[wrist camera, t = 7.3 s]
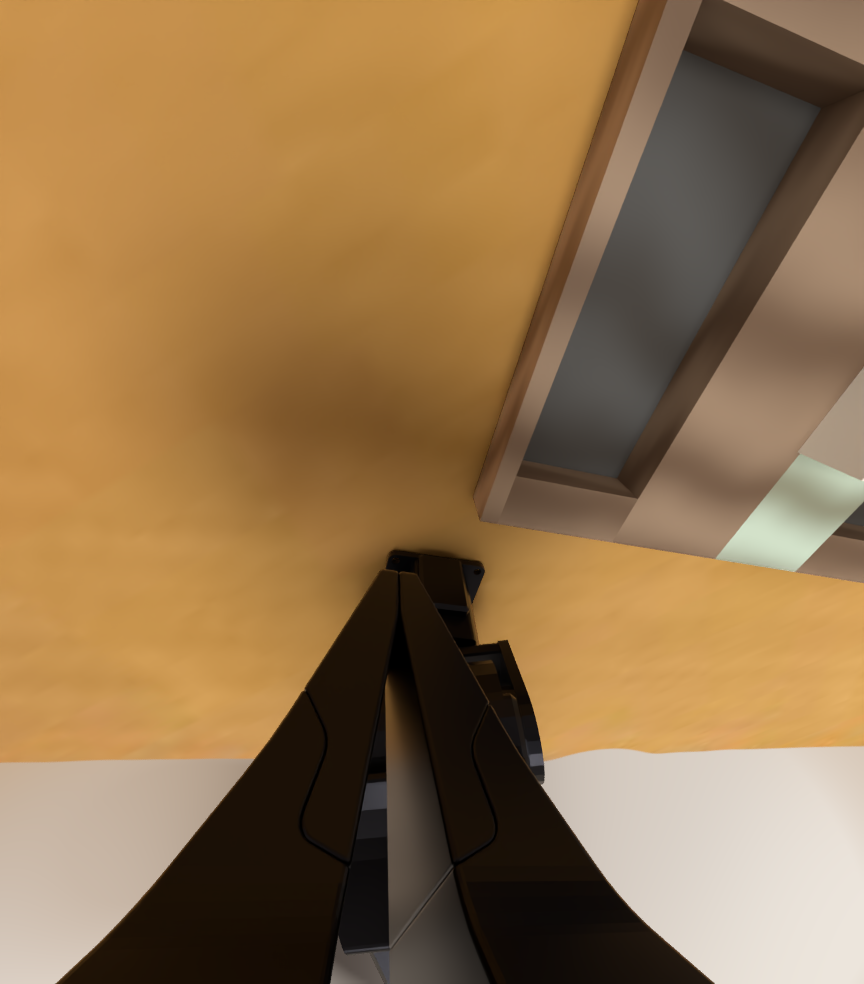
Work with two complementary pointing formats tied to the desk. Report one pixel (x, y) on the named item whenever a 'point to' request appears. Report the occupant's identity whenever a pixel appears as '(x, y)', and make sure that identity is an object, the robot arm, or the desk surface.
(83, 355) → the desk surface
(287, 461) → the desk surface
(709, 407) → the trap deck
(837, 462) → the cream block
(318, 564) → the desk surface
